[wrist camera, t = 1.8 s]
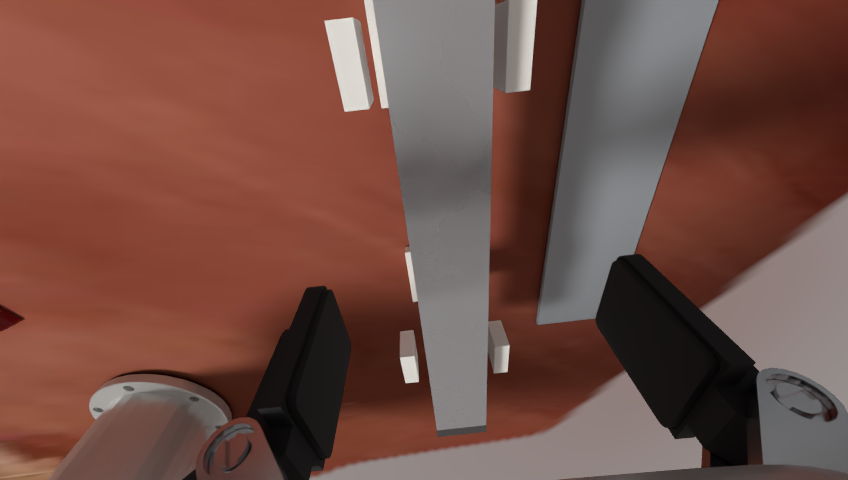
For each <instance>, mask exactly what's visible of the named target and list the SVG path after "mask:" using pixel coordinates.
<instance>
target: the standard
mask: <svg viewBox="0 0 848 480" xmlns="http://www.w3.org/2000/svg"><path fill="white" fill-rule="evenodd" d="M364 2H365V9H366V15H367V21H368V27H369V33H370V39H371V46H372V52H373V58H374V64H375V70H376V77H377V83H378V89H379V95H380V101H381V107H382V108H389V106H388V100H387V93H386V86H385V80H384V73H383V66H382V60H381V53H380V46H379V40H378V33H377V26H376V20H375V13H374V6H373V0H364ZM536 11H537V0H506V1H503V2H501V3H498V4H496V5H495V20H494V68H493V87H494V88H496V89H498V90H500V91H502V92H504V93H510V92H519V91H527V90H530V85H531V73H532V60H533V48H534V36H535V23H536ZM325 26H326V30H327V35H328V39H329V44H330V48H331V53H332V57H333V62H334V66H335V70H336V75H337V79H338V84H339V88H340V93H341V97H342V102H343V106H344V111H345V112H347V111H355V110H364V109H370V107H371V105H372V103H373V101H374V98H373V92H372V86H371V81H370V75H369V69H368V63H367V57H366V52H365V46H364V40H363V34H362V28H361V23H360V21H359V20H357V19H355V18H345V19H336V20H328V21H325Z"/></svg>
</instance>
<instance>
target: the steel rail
mask: <svg viewBox="0 0 848 480" xmlns="http://www.w3.org/2000/svg"><path fill="white" fill-rule="evenodd" d="M373 6H374V13H375V20H376V26H377V33H378V40H379V46H380V53H381V60H382V66H383V73H384V80H385V86H386V93H387V100H388V106H389V113H390V120H391V126H392V133H393V140H394V146H395V153H396V160H397V166H398V173H399V180H400V186H401V193H402V200H403V206H404V213H405V220H406V226H407V233H408V240H409V246H410V253H411V260H412V266H413V273H414V280H415V286H416V293H417V300H418V306H419V313H420V320H421V326H422V333H423V340H424V346H425V353H426V360H427V366H428V373H429V380H430V386H431V393H432V400H433V406H434V413H435V420H436V426H437V433H438V437H442V436H451V435H460V434H469V433H478V432H486V402H487V355H488V307H489V259H490V211H491V163H492V116H493V68H494V20H495V0H373Z"/></svg>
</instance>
